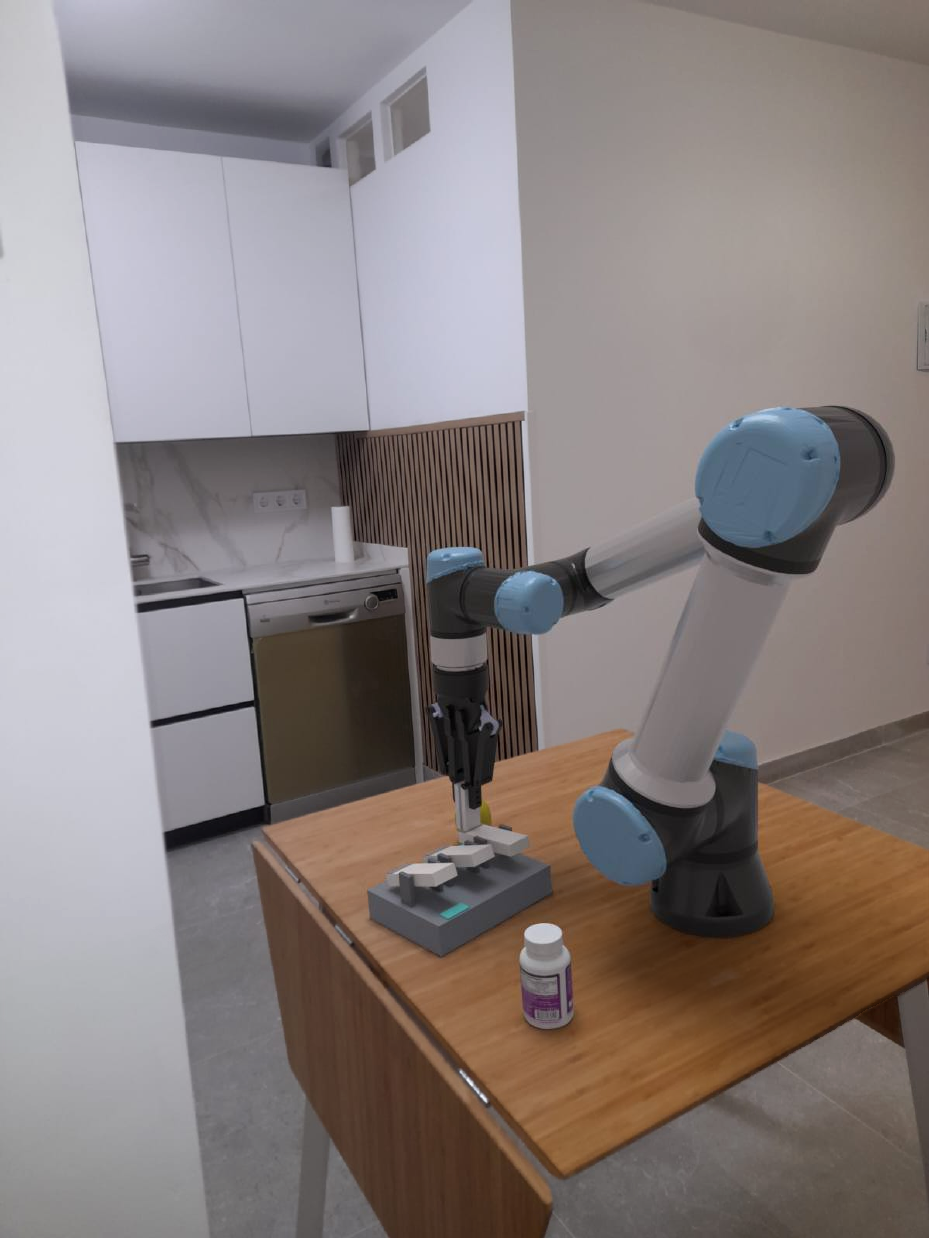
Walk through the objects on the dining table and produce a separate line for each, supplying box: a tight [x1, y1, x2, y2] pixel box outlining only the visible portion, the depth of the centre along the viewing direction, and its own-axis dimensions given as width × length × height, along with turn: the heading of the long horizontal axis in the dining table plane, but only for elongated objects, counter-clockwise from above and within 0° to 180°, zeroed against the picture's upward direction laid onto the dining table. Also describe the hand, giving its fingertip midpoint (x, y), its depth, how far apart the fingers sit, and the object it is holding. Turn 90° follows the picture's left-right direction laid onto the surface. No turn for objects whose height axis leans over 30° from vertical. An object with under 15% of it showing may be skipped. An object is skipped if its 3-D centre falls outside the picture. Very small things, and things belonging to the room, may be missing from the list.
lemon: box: [454, 798, 493, 832], centre depth 137 cm, size 6×6×8 cm
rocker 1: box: [385, 862, 458, 887], centre depth 115 cm, size 10×4×2 cm, turn 43°
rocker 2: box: [423, 844, 495, 867], centre depth 119 cm, size 10×4×2 cm, turn 43°
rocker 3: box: [457, 823, 531, 857], centre depth 123 cm, size 10×4×2 cm, turn 43°
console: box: [366, 823, 553, 958], centre depth 119 cm, size 14×20×8 cm
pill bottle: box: [519, 922, 575, 1030], centre depth 95 cm, size 5×5×10 cm
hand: (468, 826), depth 127 cm, fingers closed, pressing on rocker 3
